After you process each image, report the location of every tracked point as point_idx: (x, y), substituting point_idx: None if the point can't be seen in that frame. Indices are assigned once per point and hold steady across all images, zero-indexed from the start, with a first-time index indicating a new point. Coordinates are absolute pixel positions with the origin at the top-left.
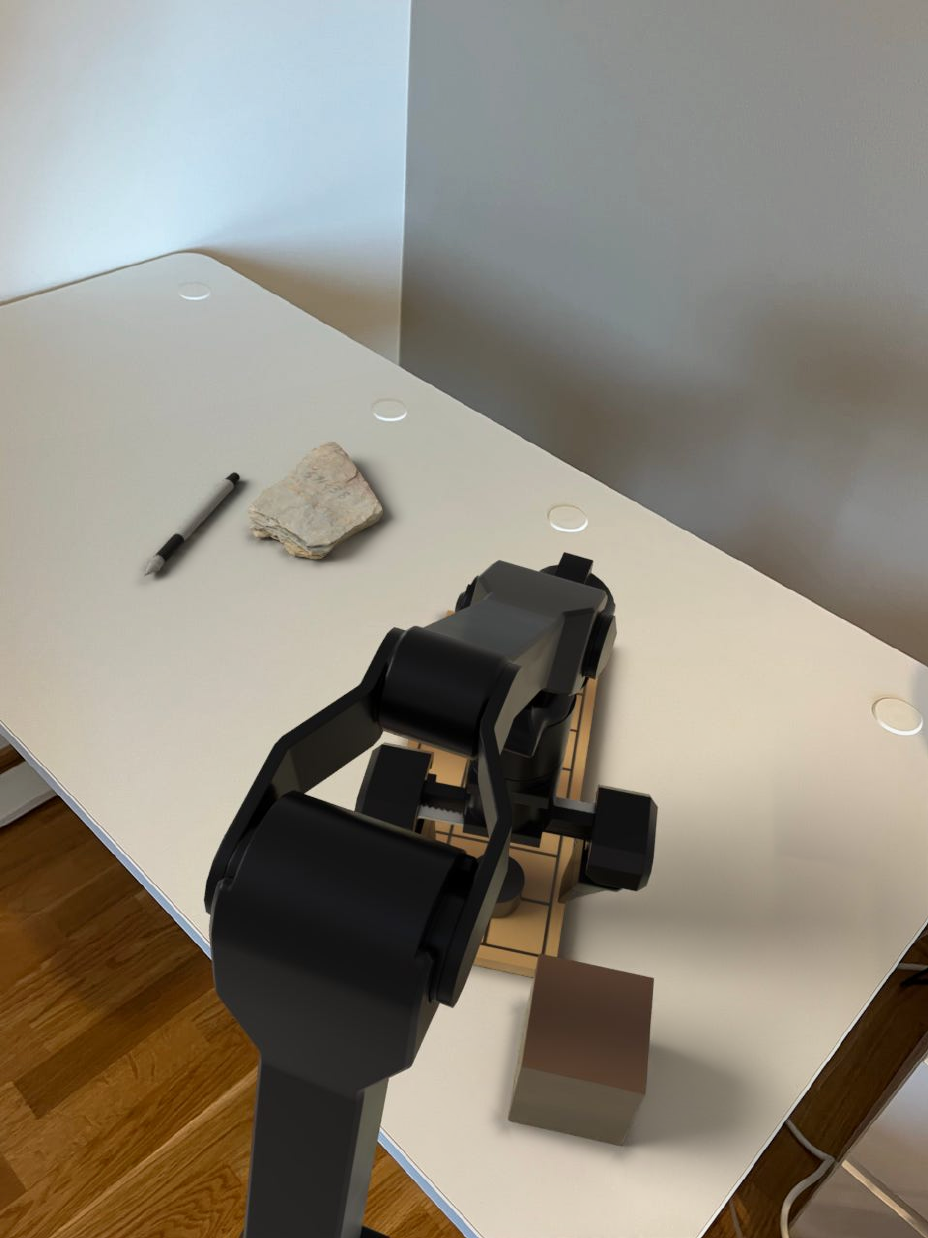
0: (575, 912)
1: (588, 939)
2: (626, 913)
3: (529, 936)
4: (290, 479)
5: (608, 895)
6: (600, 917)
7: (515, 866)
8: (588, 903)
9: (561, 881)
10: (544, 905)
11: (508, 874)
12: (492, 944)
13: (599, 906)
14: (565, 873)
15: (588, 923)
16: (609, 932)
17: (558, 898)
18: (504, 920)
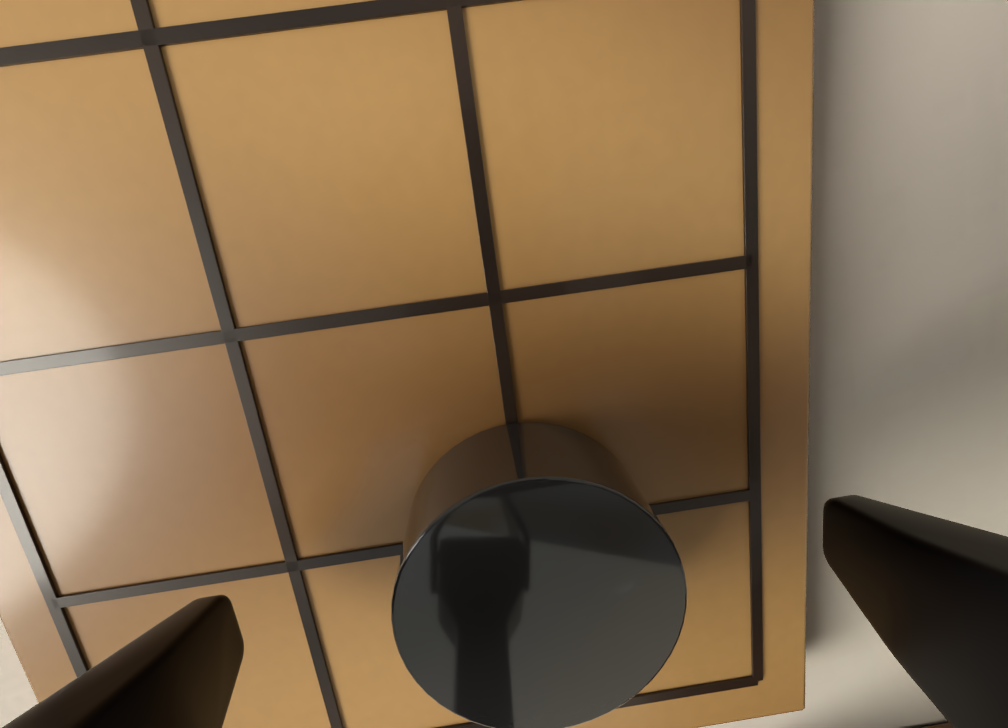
0: (813, 420)
1: (866, 497)
2: (993, 356)
3: (700, 633)
4: None
5: (927, 308)
6: (901, 405)
7: (620, 529)
8: (856, 368)
9: (890, 557)
10: (730, 502)
11: (595, 576)
12: None
13: (896, 365)
14: (984, 619)
15: (861, 443)
16: (934, 447)
17: (851, 586)
18: None
